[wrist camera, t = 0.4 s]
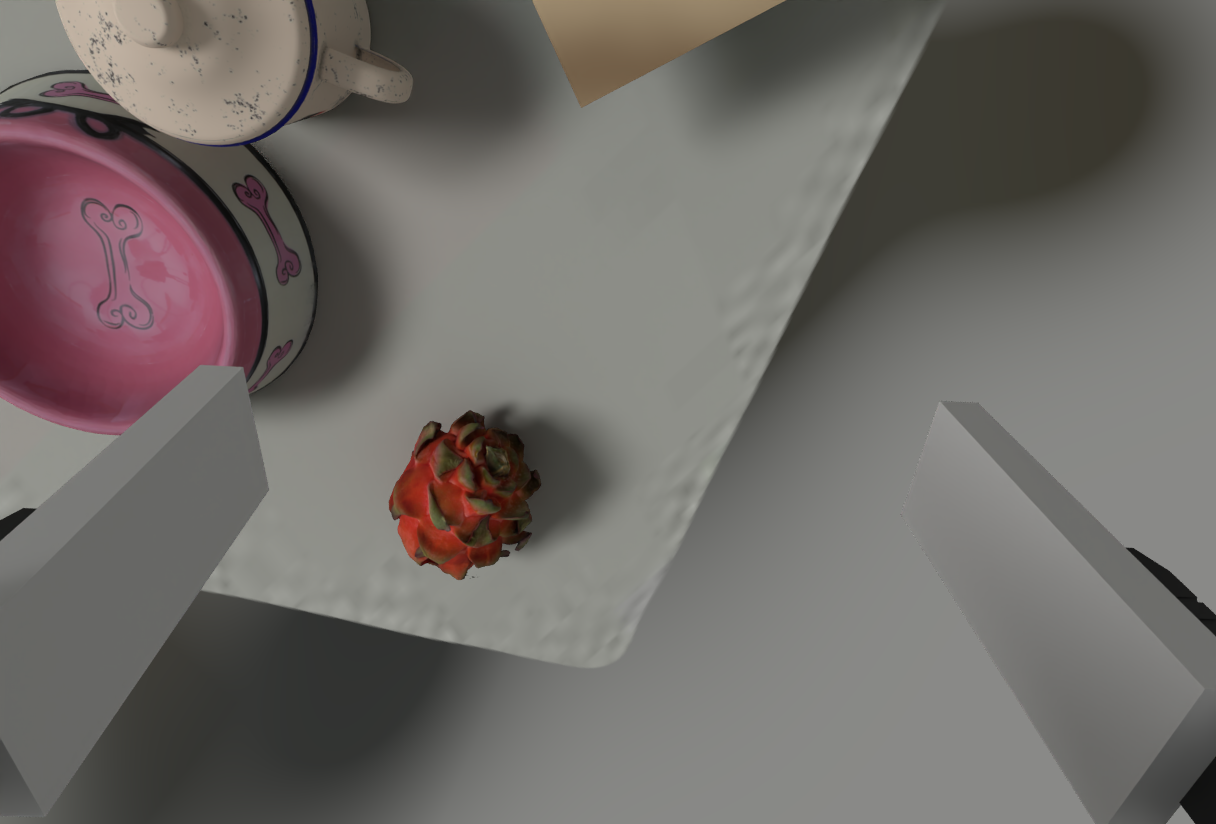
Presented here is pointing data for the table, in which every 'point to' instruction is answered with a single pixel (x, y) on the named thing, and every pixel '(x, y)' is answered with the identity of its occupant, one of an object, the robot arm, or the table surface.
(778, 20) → the table surface
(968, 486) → the robot arm
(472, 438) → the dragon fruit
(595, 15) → the oak lid
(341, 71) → the teacup with lid
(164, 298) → the dog bowl
